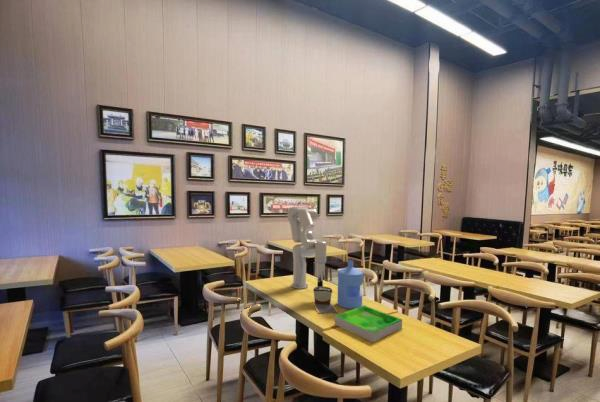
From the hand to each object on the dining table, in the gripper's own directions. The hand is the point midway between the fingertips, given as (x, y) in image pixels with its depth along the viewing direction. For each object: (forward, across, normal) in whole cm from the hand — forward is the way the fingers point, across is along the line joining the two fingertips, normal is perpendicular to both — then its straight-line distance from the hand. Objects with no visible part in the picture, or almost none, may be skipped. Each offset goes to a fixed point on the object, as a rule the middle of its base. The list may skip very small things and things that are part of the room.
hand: (320, 287), depth 200 cm
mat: (+8, +14, 0) cm, 16 cm away
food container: (+8, +8, 0) cm, 11 cm away
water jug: (+8, +11, +17) cm, 22 cm away
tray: (+9, +42, +17) cm, 46 cm away
